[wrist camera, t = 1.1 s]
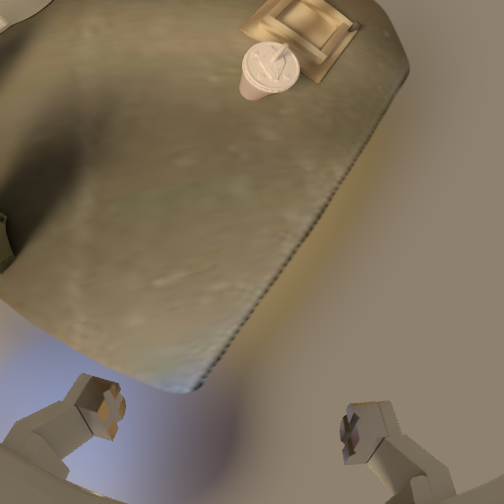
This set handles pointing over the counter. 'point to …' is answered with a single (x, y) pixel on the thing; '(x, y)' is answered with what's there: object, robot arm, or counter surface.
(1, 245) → the pouch
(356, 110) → the counter surface
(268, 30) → the holder
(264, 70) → the smoothie
